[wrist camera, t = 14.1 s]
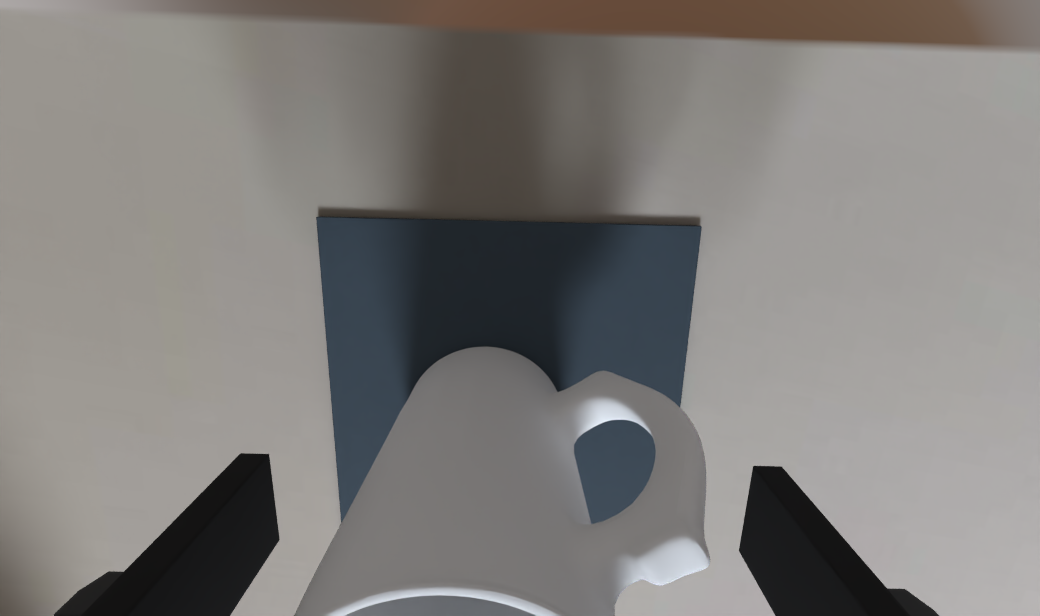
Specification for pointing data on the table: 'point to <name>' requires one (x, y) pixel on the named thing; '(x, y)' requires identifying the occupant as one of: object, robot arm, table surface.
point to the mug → (510, 500)
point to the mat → (504, 323)
